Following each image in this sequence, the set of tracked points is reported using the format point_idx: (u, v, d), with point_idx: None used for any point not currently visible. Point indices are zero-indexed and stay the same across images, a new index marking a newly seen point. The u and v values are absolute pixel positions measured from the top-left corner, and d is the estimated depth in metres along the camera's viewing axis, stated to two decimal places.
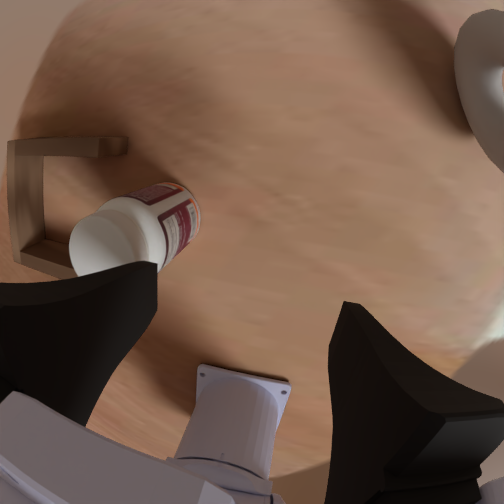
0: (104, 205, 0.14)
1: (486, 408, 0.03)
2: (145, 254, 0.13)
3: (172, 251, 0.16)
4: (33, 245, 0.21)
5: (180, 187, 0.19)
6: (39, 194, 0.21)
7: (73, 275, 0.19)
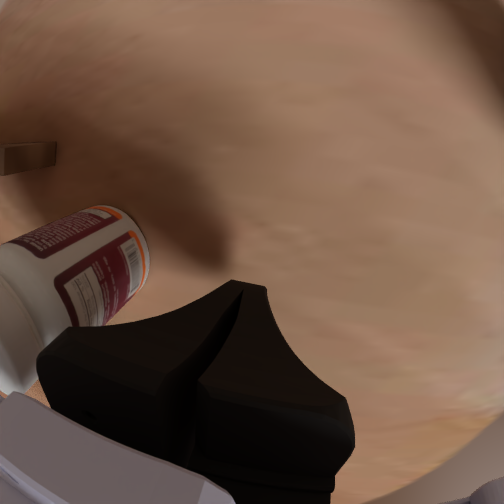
0: None
1: (296, 401, 0.04)
2: (33, 346, 0.06)
3: (91, 325, 0.09)
4: None
5: (117, 213, 0.12)
6: None
7: None
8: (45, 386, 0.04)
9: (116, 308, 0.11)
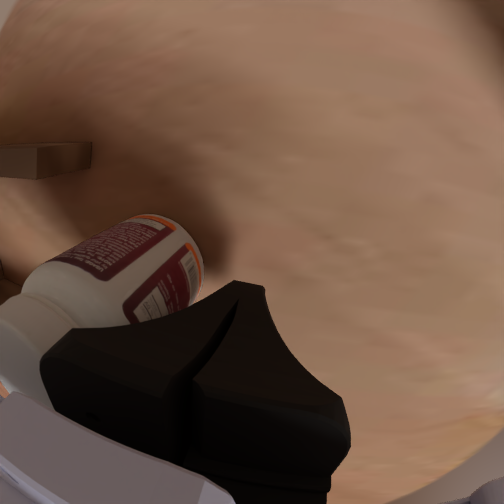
0: (32, 276, 0.07)
1: (291, 400, 0.04)
2: None
3: None
4: None
5: (170, 223, 0.12)
6: None
7: None
8: (48, 388, 0.04)
9: None
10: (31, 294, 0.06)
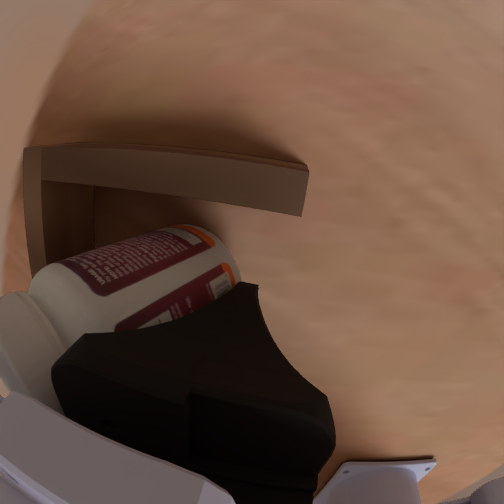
0: (37, 275, 0.07)
1: (273, 397, 0.04)
2: None
3: None
4: None
5: (210, 239, 0.11)
6: (88, 248, 0.13)
7: None
8: (60, 395, 0.04)
9: None
10: (24, 294, 0.06)
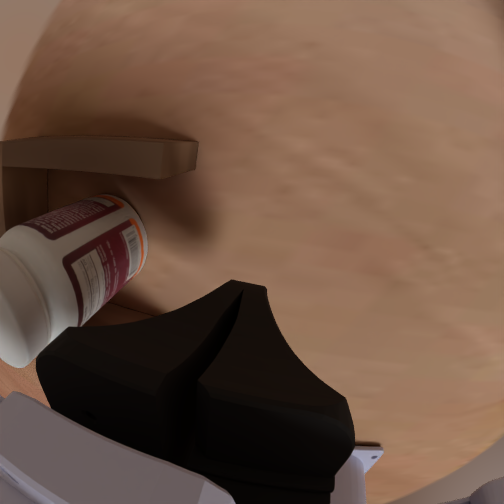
0: (2, 237, 0.08)
1: (296, 400, 0.04)
2: (41, 318, 0.07)
3: (93, 303, 0.10)
4: None
5: (120, 202, 0.13)
6: None
7: None
8: (45, 386, 0.04)
9: (115, 289, 0.12)
10: None
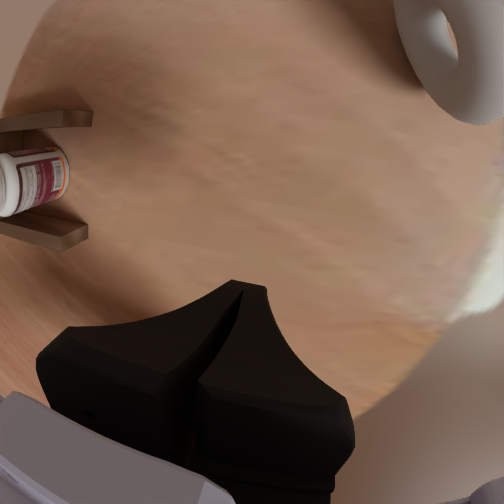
0: None
1: (296, 400, 0.04)
2: (1, 188, 0.14)
3: (28, 191, 0.17)
4: (11, 216, 0.22)
5: (55, 149, 0.20)
6: None
7: (40, 238, 0.19)
8: (45, 386, 0.04)
9: (45, 192, 0.19)
10: None
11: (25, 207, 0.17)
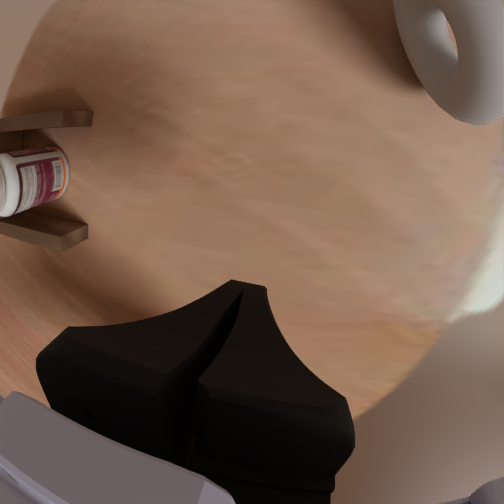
0: None
1: (296, 400, 0.04)
2: (1, 188, 0.14)
3: (29, 191, 0.17)
4: (11, 216, 0.22)
5: (55, 149, 0.20)
6: None
7: (40, 238, 0.19)
8: (45, 386, 0.04)
9: (45, 192, 0.19)
10: None
11: (25, 207, 0.17)
